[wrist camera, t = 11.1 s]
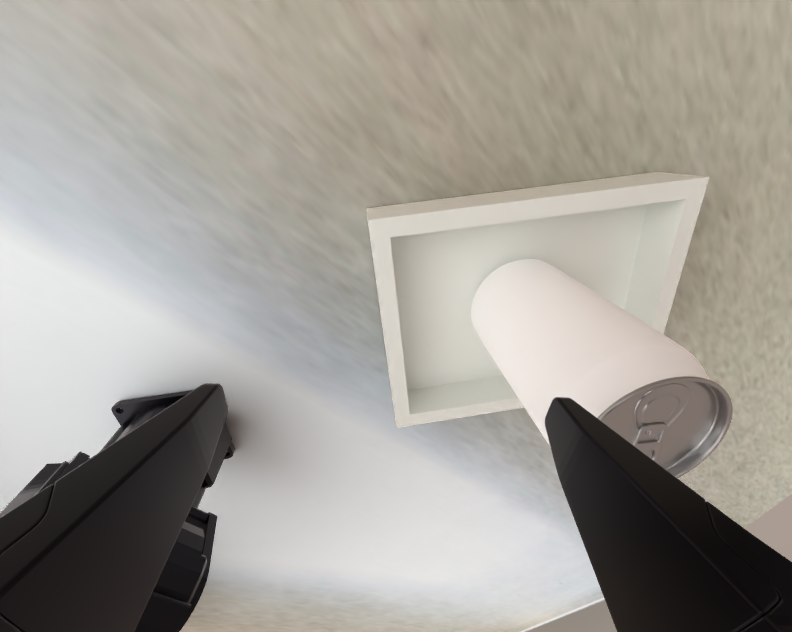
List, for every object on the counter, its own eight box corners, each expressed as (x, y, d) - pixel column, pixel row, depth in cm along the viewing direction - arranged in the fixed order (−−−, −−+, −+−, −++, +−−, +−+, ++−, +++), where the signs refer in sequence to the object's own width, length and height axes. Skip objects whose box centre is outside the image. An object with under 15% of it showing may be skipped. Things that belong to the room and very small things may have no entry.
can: (571, 254, 22) (779, 360, 11) (552, 341, 25) (702, 491, 14) (472, 258, 21) (592, 375, 11) (464, 348, 24) (552, 509, 14)
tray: (391, 394, 27) (396, 428, 23) (365, 208, 20) (368, 220, 17) (614, 360, 28) (647, 387, 24) (657, 171, 21) (709, 176, 18)
